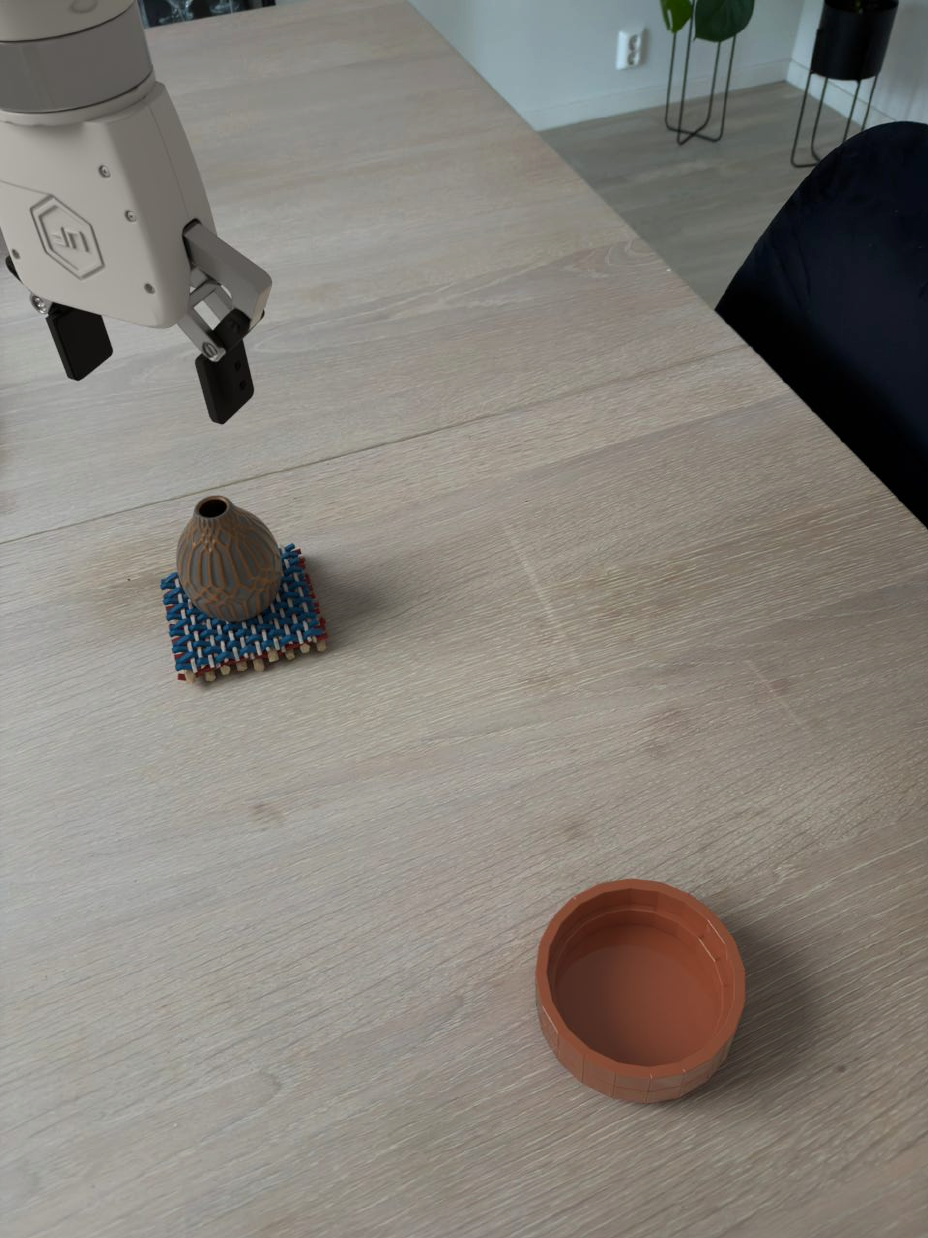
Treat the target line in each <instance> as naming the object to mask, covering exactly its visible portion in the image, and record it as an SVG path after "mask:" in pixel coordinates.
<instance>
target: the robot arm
mask: <svg viewBox="0 0 928 1238" xmlns="http://www.w3.org/2000/svg"><path fill="white" fill-rule="evenodd" d="M142 18H143V17H142V15H141V11H140V7H139V2H138V0H0V255H2V256H3V255H4V256H5V259H4V261H5V265H6V268H7V270H8V272H10V273H11V274H12V275H13V276H14V277H15V278H16V279H17V280H18V281H19V282H20V283H21V285H23V286H24V288H26V289H27V290H28V292H30V294H29V302H30V304H31V306H32V307H33V308H34V310H35V311H36V312H38V313H39V314H41V315H47V316H46V317H45V322H46V324H47V327H48V329H49V332H50V335H51V337H52V340H53V342H54V345H55V348H56V351H57V354H58V356H59V359H60V361H61V364H62V366H63V369H64V372H65V374H66V378H68V379H69V380H73V381H76V382H80V381H82V380H84V379H85V378H87V377H88V376H89V375H90V374H91V373H92V372H94V371H95V370H96V369H97V368H98V367H100V366H101V365H102V364H104V363H105V362H106V361H107V360H108V359H109V358H111V357H112V356H113V354H114V348H113V345H112V342H111V339H110V336H109V333H108V330H107V327H106V325H105V321H104V318H103V317H108V318H111V319H115V320H118V321H121V322H125V323H129V324H133V325H137V326H140V327H145V328H150V329H155V330H165V329H169V328H173V327H174V326H175V325H177V326H178V327H179V329H180V330H181V331H182V332H183V333H184V334H185V335H186V337H187V338H188V340H190V341H191V343H192V344H193V345H195V347H196V348H197V349H198V351H199V352H200V354H199V355H198V356H197V357H196V358H195V360H194V367H195V369H196V373H197V376H198V381H199V385H200V389H201V391H202V395H203V399H204V402H205V406H206V410H207V413H208V417H209V419H210V420H211V422H212V423H215V424H218V425H225V424H226V423H227V422H228V421H229V420H230V419H231V418H232V417H234V415H235V414H236V413H238V412H239V410H241V409H242V407H244V406H245V405H246V404H247V403H248V402H249V401H250V400H251V399H252V398H253V396H254V394H255V385H254V381H253V377H252V372H251V368H250V363H249V360H248V356H247V351H246V346H245V342H244V339H245V338H246V337H247V336H248V335H249V334H250V333H251V332H252V330H253V329H254V328H255V327H256V326H257V325H258V324H259V323H260V322H261V321H262V320H263V318H264V317H265V314H266V312H265V308H266V306H267V303H268V300H269V296H270V294H271V290H272V288H273V287H272V286H273V279H272V277H271V275H270V274H269V273H268V272H267V271H266V270H265V269H263V268H262V267H260V266H259V265H257V263H255V262H253V261H252V260H251V259H250V258H248V257H246V256H245V255H243V253H241V252H240V251H238V250H237V249H236V248H234V247H233V246H231V245H230V244H228V243H227V242H226V241H224V240H223V239H221V238H220V237H219V236H218V232H217V229H216V223H215V220H214V216H213V211H212V208H211V206H210V205H211V204H210V202H209V199H208V195H207V192H206V189H205V186H204V183H203V180H202V177H201V173H200V170H199V167H198V164H197V162H196V161H197V160H196V158H195V155H194V153H193V150H192V147H191V144H190V142H189V140H188V136H187V134H186V131H185V129H184V126H183V124H182V121H181V119H180V117H179V114H178V111H177V109H176V107H175V105H174V103H173V101H172V98H171V96H170V94H169V91H168V89H167V87H166V85H165V84H164V83H163V82H160V81H158V80H157V75H156V72H155V68H154V64H153V59H152V55H151V52H150V47H149V43H148V39H147V34H146V31H145V27H144V23H143V19H142ZM223 287H224V288H225V289H226V290H227V291H228V292H229V294H230V295H229V294H228V293H227V292H226V290H225V289H224V288H223ZM191 288H193V290H192V291H191ZM202 302H203V303H204V304H205V305H206V306H207V308H209V310H210V311H211V313H213V315H215V317H216V318H217V319H218V320H219V322H218V324H216V325H215V327H214V328H211V326H210V324H208V323H207V322H206V320H205V319H204V318H203V317H202V316H201V315H200V314H199V312H198V311H197V310H196V309H195V308H196V307H197V306H198V305H199V304H201V303H202Z"/></svg>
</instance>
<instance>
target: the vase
mask: <svg viewBox="0 0 928 1238" xmlns="http://www.w3.org/2000/svg"><path fill="white" fill-rule="evenodd" d="M279 548H280V546H279V545H278V542H277V540H276V538H275V536H274V534H273V533H272V531H271V530H270V528H269V527H268V526H267V525H266V523H264V521H263V520H261V519H260V518H259V517H258V516H257V515H256V514H254V513H253V512H250V511H248V510H247V509H244V508H242V507H239V506H238V505H236V504H234V502H233V501H231V500H230V498H227V497H226V496H225V495H217V494H216V495H210V496H207V497H204V498H202V499H201V500H199V501H198V502H197V503H196V505H195V506H194V509H193V514H192V517H191V518H190V519H189V521H188V522H187V523H186V525H185V527H184V529H183V530H182V532H181V534H180V536H179V539H178V542H177V546H176V551H175V565H176V572H177V573H178V576H179V580H180V582H181V585H182V587H183V589H184V591H185V593H186V595H187V596H188V598H189V599H190V600H191V602H192V603H193V604H194V605H195V606H196V607H197V608H198V609H199V610H200V611H202V612H203V613H204V614H206V615H208V616H210V617H212V618H215V619H218V620H221V621H230V622H236V621H240V622H241V621H243V620H247V619H250V618H252V617H255V616H256V615H258V614H260V613H261V612H263V611H264V610H265V609H266V608H267V607H268V606H269V605H270V604H271V603H272V601H273V600H274V599H275V597H276V595H277V593H279V592H278V590H279V588H280V584H281V579H282V560H281V555H280V551H279ZM256 617H257V616H256ZM256 617H255V618H256Z"/></svg>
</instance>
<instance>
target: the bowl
mask: <svg viewBox="0 0 928 1238" xmlns="http://www.w3.org/2000/svg"><path fill="white" fill-rule="evenodd" d="M746 979H747V978H746V968H745V965H744V962H743V959H742V956H741V953H740V950H739V947H738V944H737V942H736V939H735V938H734V936H733V935H732V934H731V932H730V931H729V930H728V929H727V927H726V926H725V925H724V923H723V922H722V920H721V919H720V917H719V916H718V915H717V914H716V913H715V912H714V911H712V910H711V909H710V908H709V907H708V906H706V905H705V904H704V903H702V902H701V901H700V900H698V899H697V898H696V896H693V895H692V894H691V893H688V892H687V891H684V890H681V889H680V888H677V887H674V886H672V885H670V884H668V883H664V882H663V881H655V880H648V879H640V878H624V879H618V880H612V881H611V880H610V881H605V882H601V883H598V884H595V885H593V886H592V887H590V888H587V889H585V890H583V891H581V892H580V893H577V894H575V895H574V896H573V897H571V898H570V899H569V900H568V901H567V902H566V903H565V904H564V905H563V906H562V907H561V908H560V909H559V910H558V911H557V912H556V913H555V914H554V915H553V916H552V918H551V919H550V921H549V923H548V925H547V927H546V929H545V931H544V932H543V935H542V937H541V938H540V941H539V944H538V949H537V955H536V963H535V971H534V988H535V989H534V990H535V991H534V993H535V997H534V998H535V1007H536V1012H537V1017H538V1022H539V1026H540V1031H541V1033H542V1035H543V1037H544V1039H545V1041H546V1042H547V1044H548V1046H549V1048H550V1049H551V1051H552V1053H553V1055H554V1057H555V1058H556V1060H557V1061H558V1063H559V1064H561V1065H562V1066H563V1067H564V1068H565V1069H566V1070H567V1071H568V1072H569V1073H570V1074H571V1075H572V1076H573V1077H574V1078H575V1079H576V1080H577V1081H579V1082H580V1083H581V1084H583V1085H585V1086H587V1087H588V1088H590V1089H593V1090H594V1091H597V1092H599V1093H601V1094H603V1095H605V1096H607V1097H609V1098H612V1099H614V1100H620V1101H625V1102H633V1103H639V1104H652V1103H658V1102H663V1101H670V1100H676V1099H678V1098H681V1097H683V1096H685V1095H686V1094H688V1093H690V1092H692V1091H693V1090H695V1089H697V1088H699V1087H700V1086H702V1085H704V1084H706V1083H707V1082H708V1081H709V1080H710V1079H711V1077H712V1076H713V1075H714V1074H715V1073H716V1072H717V1070H718V1069H719V1068H720V1067H721V1066H722V1064H723V1063H724V1062H725V1061H726V1059H727V1057H728V1054H729V1052H730V1049H731V1047H732V1044H733V1041H734V1038H735V1036H736V1032H737V1030H738V1027H739V1024H740V1021H741V1018H742V1015H743V1012H744V1009H745V1006H746V1002H747V1001H746V999H747V998H746V997H747V995H746V993H747V992H746V991H747V990H746V986H747V985H746Z"/></svg>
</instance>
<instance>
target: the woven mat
mask: <svg viewBox="0 0 928 1238" xmlns="http://www.w3.org/2000/svg"><path fill="white" fill-rule="evenodd" d="M279 551H280V555H281V560H282V579H281V584H280V588H279V590H278V593H277V595H276V597H275V599H274V600H273V601H272V603H271V604H270V605H269V606H268V607H267V608H266V609H265V610H264V611H263V612H261V613H260V614H258V615H256V616H255V617H252V618H250V619H247V620H243V621H236V622H230V621H221V620H218V619H215V618H212V617H210V616H208V615H206V614H204V613H203V612H202V611H200V610H199V609H198V608H197V607H196V606H195V605H194V604H193V603H192V602H191V600H190V599H189V598H188V596H187V595H186V593H185V591H184V589H183V587H182V585H181V582H180V580H179V576H178V573H177V571H175V572H172V573H171V574H169V575H168V576H167V577H165V578H163V579H160V584H159V587H160V590H161V591H165V590H168V591H166V592H165V593H164V594H162V603H163V605H164V608H165V611H166V615H165V620H166V621H167V622H170V623H169V624H168V630H169V631H168V636H169V637H170V638H172V639H171V644H172V645H171V652H172V654H173V659H174V661H175V663H174V664H175V665H174V669H175V670H176V672H178V674H177V676H176V677H177V680H178V681H183V682H186V684H187V685H191V684H194V683H197V682H198V678H200V677H201V676H202V675H203V674H204V678H205V681H206V682H211V683H212V682H213V681H215V679H217V677H216V674H215V670H217V669H219V670H220V672H221V674H222V676H225V675H229V673H230V672H231V670H232V669H231V666H230V665H232V664H233V665H234V664H235V666H236V670H237V671H238V672H244V671H246V670H248V664H247V661H252V664H253V668H254V671H256V672H257V671H258V672H263V671H264V670H265V664H264V660H263V659H268V662H269V663H272V662H276V661H279V660H280V658H279V657H281V656H282V655H283V654H284V655H285V657H286V658H287V660H288V661H291V660H293V659H294V658H295V657H296V655H295V651H294V649H296V648H299V650H300V652H301V653H302V654H307V653H309V652H310V649H311V647H310V644H313V643H314V644H315V647H316V650H317V652H325V651H326V650H327V645H326V641H325V640H326V639H329V634H328V632H327V631H326V625H325V624H326V623H327V621H326V619H325V617H323V616H321V617H320V618H319V617H318V615H320V614H321V610H320V608H319V607H320V606H321V604H320V602H318V601H315V602H314V601H313V600H314V599H316V598H317V597H316V594H315V592H313V591H314V588H313V585H312V580H311V576H310V574H309V573H306V572H304V570H306V569H307V566H306V563H305V562H306V560H305V558H304V557H300V555H302V554H303V553H302V550H301V548H297V549H296V545H295V544H294V543H293V542H291V543H290V544H288V545H286V546H284V544H281V543H280V544H279ZM171 621H174V623H171ZM324 631H325V632H324ZM231 649H232V651H231ZM196 650H197V651H196ZM265 650H266V651H265ZM180 671H183V673H179V672H180Z"/></svg>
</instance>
